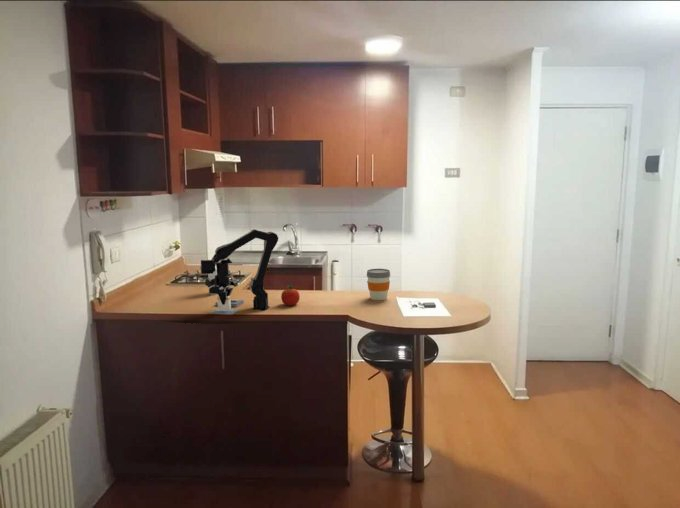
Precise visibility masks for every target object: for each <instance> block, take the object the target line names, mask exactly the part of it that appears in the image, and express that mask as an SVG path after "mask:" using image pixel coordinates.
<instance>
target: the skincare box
mask: <svg viewBox="0 0 680 508" xmlns="http://www.w3.org/2000/svg"><path fill="white" fill-rule="evenodd" d="M207 275H208V277H207V279H209V278H210V279H214V278H215V275H217V268H216V265H215V271H214V272H213V273H212V274H207ZM213 286H215V285H213ZM213 286H210V287H208V290H209V289H210V288H211V287H213ZM208 294H209V295H216V296H219V295H218V294H211V293H209V292H208Z"/></svg>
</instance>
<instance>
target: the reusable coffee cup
mask: <svg viewBox="0 0 680 508" xmlns="http://www.w3.org/2000/svg"><path fill="white" fill-rule="evenodd" d="M366 271H367V272H366V277H367V281H366V283H367V290H368V291H369V297H370V300H372V301H373V300H374V301H385V300H387V298H388V292H389V290H390V282H391V281H390V278H391V271H390V269H386V268H370V269H368V270H366Z"/></svg>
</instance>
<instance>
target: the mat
mask: <svg viewBox="0 0 680 508" xmlns="http://www.w3.org/2000/svg"><path fill="white" fill-rule="evenodd" d="M239 311H240V309H237V308H236V309H233V308H231V309H230V310H220V309H218V308H216V309H214V310H213V311H211V312H209V314H215V315H216V314H217V315H218V314H219V315H230V316H231V315H234V314H236V313H238V312H239Z"/></svg>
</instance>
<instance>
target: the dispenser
mask: <svg viewBox="0 0 680 508" xmlns="http://www.w3.org/2000/svg"><path fill="white" fill-rule="evenodd" d="M244 301H245V300H244V299H231V308H238V307H240V306H241V305H243V304H244ZM215 307H218V301H217V302H215Z"/></svg>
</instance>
